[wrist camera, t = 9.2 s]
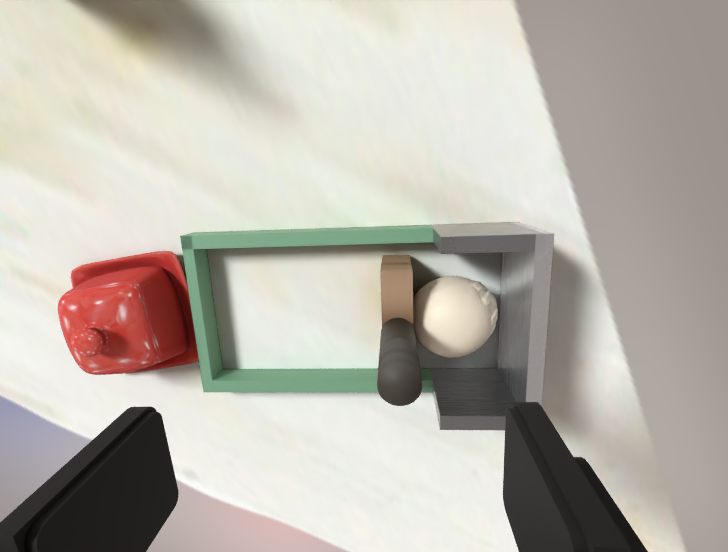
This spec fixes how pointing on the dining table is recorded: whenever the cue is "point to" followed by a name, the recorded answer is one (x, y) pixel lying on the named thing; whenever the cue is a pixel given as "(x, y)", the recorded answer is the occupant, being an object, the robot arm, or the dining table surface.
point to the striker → (398, 334)
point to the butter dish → (129, 315)
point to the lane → (278, 378)
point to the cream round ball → (454, 316)
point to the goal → (500, 326)
